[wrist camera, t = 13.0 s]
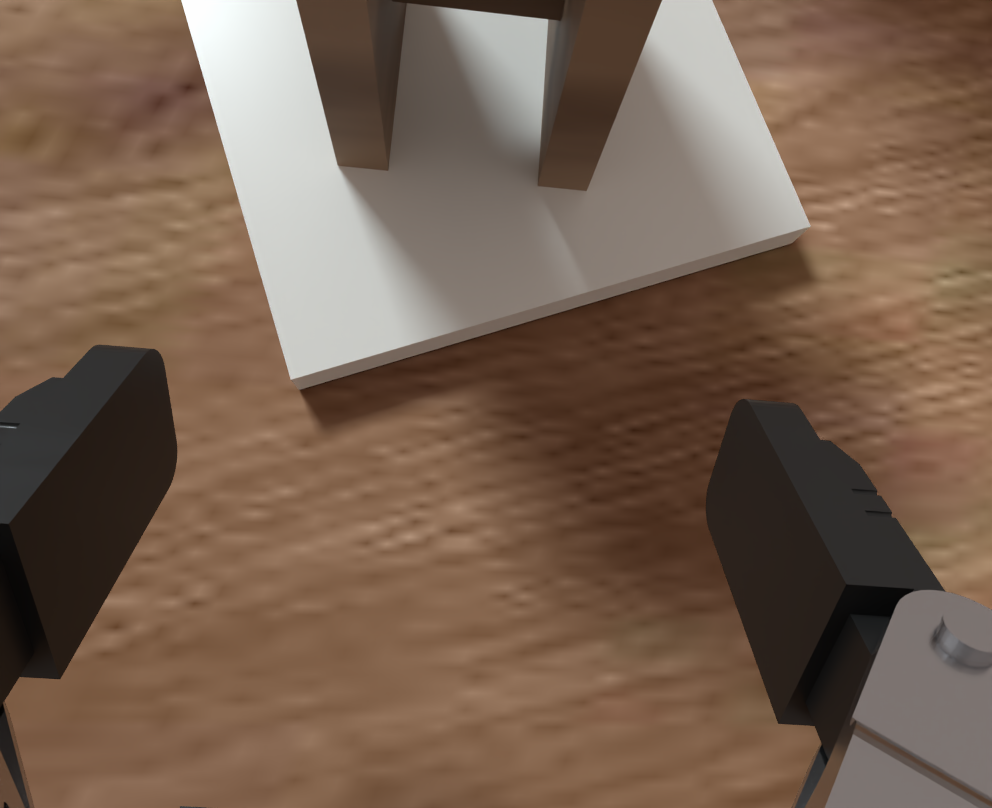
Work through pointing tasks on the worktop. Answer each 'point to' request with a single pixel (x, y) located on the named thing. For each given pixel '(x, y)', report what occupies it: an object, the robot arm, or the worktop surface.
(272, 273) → the off-white board
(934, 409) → the worktop surface
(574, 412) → the worktop surface
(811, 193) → the worktop surface
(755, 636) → the robot arm
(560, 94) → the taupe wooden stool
